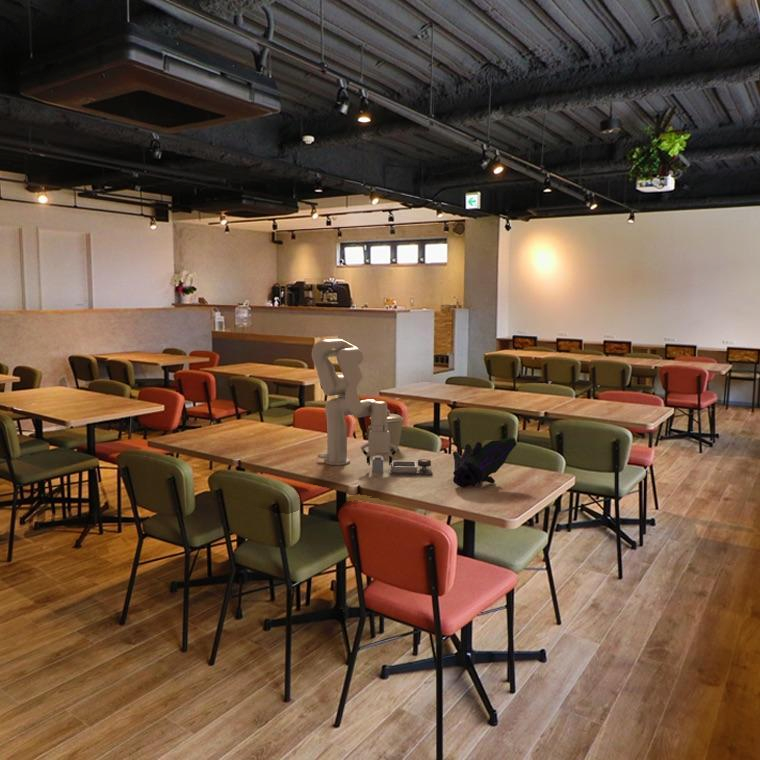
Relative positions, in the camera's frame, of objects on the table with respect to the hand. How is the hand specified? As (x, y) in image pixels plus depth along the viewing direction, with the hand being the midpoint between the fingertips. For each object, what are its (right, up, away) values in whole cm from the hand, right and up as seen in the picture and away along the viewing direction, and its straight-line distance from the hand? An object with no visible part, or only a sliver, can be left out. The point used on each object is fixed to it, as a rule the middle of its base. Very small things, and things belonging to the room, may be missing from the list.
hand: (379, 464), depth 292 cm
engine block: (-1, -3, +1) cm, 3 cm away
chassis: (+15, -3, 0) cm, 15 cm away
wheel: (+21, 0, -1) cm, 21 cm away
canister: (+3, +2, +46) cm, 46 cm away
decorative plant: (+43, -6, -16) cm, 46 cm away
